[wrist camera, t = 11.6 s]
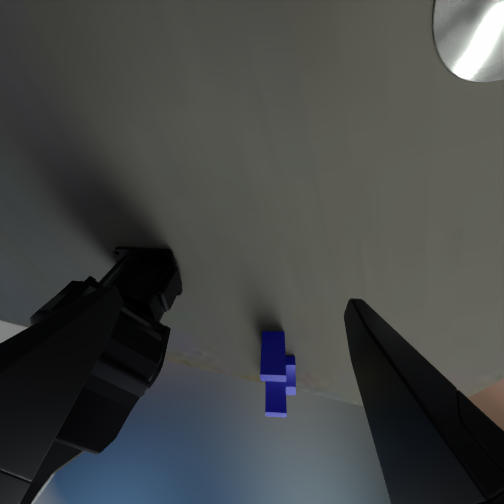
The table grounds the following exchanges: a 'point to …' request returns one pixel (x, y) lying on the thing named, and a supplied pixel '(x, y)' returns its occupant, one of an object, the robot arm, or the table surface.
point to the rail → (470, 38)
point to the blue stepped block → (276, 373)
